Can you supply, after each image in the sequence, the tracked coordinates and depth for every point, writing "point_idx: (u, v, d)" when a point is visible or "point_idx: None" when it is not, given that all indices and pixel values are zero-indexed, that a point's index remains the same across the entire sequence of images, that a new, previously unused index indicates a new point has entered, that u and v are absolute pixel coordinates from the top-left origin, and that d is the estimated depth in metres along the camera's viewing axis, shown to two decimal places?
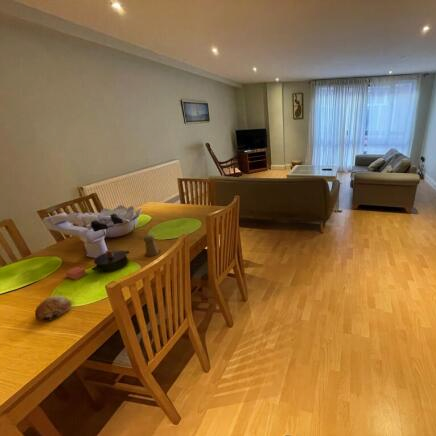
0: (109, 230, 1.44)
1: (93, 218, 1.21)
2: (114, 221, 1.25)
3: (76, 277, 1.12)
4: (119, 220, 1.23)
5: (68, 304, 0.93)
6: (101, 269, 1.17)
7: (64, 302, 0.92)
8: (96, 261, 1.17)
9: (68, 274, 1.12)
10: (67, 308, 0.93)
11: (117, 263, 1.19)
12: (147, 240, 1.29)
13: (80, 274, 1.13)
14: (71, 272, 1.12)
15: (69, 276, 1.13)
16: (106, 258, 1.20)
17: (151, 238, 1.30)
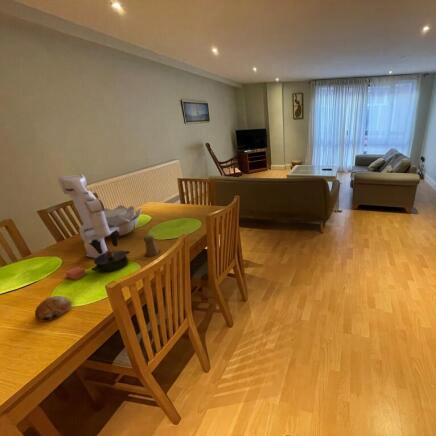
0: None
1: (100, 229, 1.13)
2: (111, 236, 1.21)
3: (76, 277, 1.12)
4: (114, 244, 1.22)
5: (68, 304, 0.93)
6: (101, 269, 1.17)
7: (64, 302, 0.92)
8: (96, 261, 1.17)
9: (68, 274, 1.12)
10: (67, 308, 0.93)
11: (117, 263, 1.19)
12: (147, 240, 1.29)
13: (80, 274, 1.13)
14: (71, 272, 1.12)
15: (69, 276, 1.13)
16: (106, 258, 1.20)
17: (151, 238, 1.30)
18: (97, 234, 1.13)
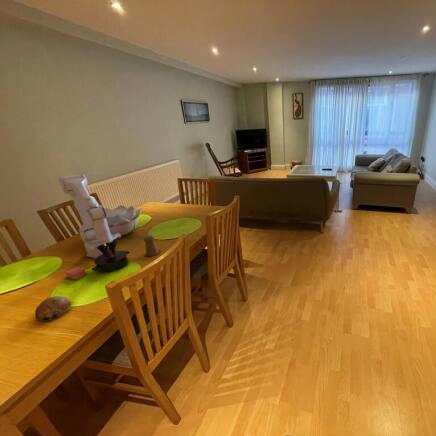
0: None
1: (103, 236, 1.14)
2: (108, 244, 1.20)
3: (76, 277, 1.12)
4: (112, 252, 1.21)
5: (68, 304, 0.93)
6: (101, 269, 1.17)
7: (64, 302, 0.92)
8: (96, 261, 1.17)
9: (68, 274, 1.12)
10: (67, 308, 0.93)
11: (117, 263, 1.19)
12: (147, 240, 1.29)
13: (80, 274, 1.13)
14: (71, 272, 1.12)
15: (69, 276, 1.13)
16: (106, 258, 1.20)
17: (151, 238, 1.30)
18: (99, 241, 1.15)
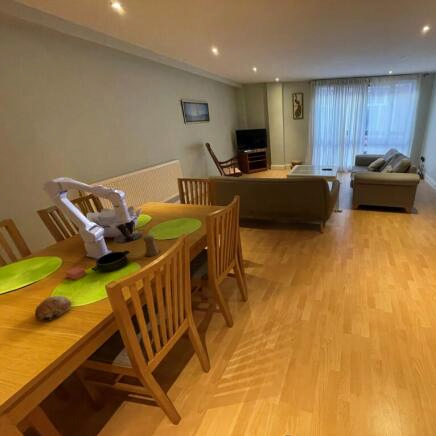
0: (109, 230, 1.44)
1: (122, 217, 1.26)
2: (127, 225, 1.32)
3: (76, 277, 1.12)
4: (130, 232, 1.33)
5: (68, 304, 0.93)
6: (101, 269, 1.17)
7: (64, 302, 0.92)
8: (116, 239, 1.29)
9: (68, 274, 1.12)
10: (67, 308, 0.93)
11: (117, 263, 1.19)
12: (147, 240, 1.29)
13: (80, 274, 1.13)
14: (71, 272, 1.12)
15: (69, 276, 1.13)
16: (125, 237, 1.31)
17: (151, 238, 1.30)
18: (119, 221, 1.26)
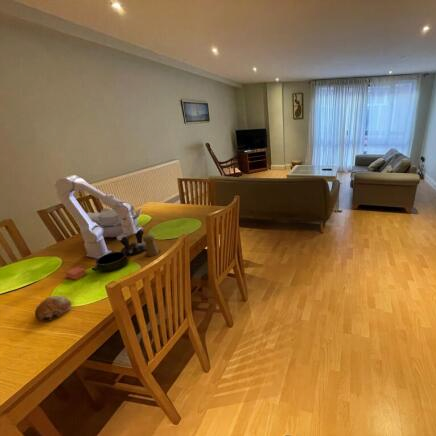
0: (109, 230, 1.44)
1: (129, 228, 1.31)
2: (136, 234, 1.39)
3: (76, 277, 1.12)
4: (139, 241, 1.40)
5: (68, 304, 0.93)
6: (101, 269, 1.17)
7: (64, 302, 0.92)
8: (122, 251, 1.34)
9: (68, 274, 1.12)
10: (67, 308, 0.93)
11: (117, 263, 1.19)
12: (147, 240, 1.29)
13: (80, 274, 1.13)
14: (71, 272, 1.12)
15: (69, 276, 1.13)
16: (131, 249, 1.36)
17: (151, 238, 1.30)
18: (126, 232, 1.31)
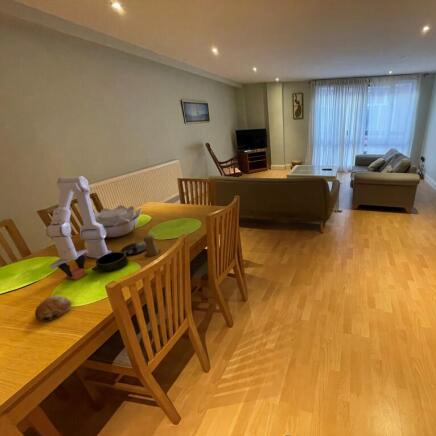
0: (109, 230, 1.44)
1: (66, 254, 1.08)
2: (76, 260, 1.15)
3: (76, 277, 1.12)
4: None
5: (68, 304, 0.93)
6: (101, 269, 1.17)
7: (64, 302, 0.92)
8: (122, 251, 1.34)
9: None
10: (67, 308, 0.93)
11: (117, 263, 1.19)
12: (147, 240, 1.29)
13: (80, 274, 1.13)
14: (71, 272, 1.12)
15: None
16: (131, 249, 1.36)
17: (151, 238, 1.30)
18: (63, 259, 1.08)
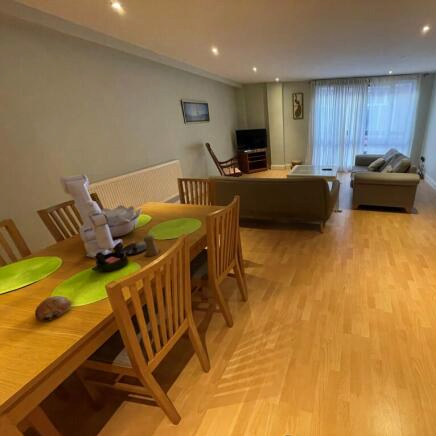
0: None
1: (105, 242, 1.15)
2: (115, 248, 1.23)
3: None
4: (118, 255, 1.25)
5: (68, 304, 0.93)
6: (101, 269, 1.17)
7: (64, 302, 0.92)
8: (122, 251, 1.34)
9: (106, 263, 1.20)
10: (67, 308, 0.93)
11: (117, 263, 1.19)
12: (147, 240, 1.29)
13: None
14: (108, 261, 1.20)
15: None
16: (131, 249, 1.36)
17: (151, 238, 1.30)
18: (101, 247, 1.16)
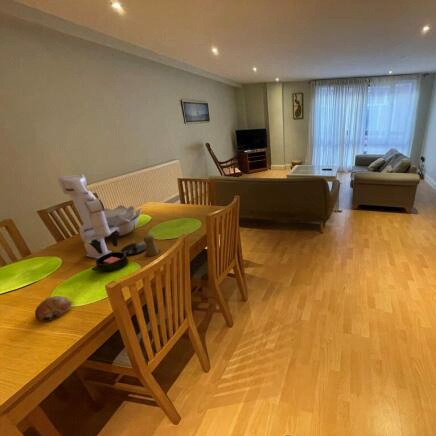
0: None
1: (100, 230, 1.13)
2: (111, 236, 1.21)
3: None
4: (114, 244, 1.22)
5: (68, 304, 0.93)
6: (101, 269, 1.17)
7: (64, 302, 0.92)
8: (122, 251, 1.34)
9: (106, 263, 1.20)
10: (67, 308, 0.93)
11: (117, 263, 1.19)
12: (147, 240, 1.29)
13: None
14: (108, 261, 1.20)
15: None
16: (131, 249, 1.36)
17: (151, 238, 1.30)
18: (97, 234, 1.13)
